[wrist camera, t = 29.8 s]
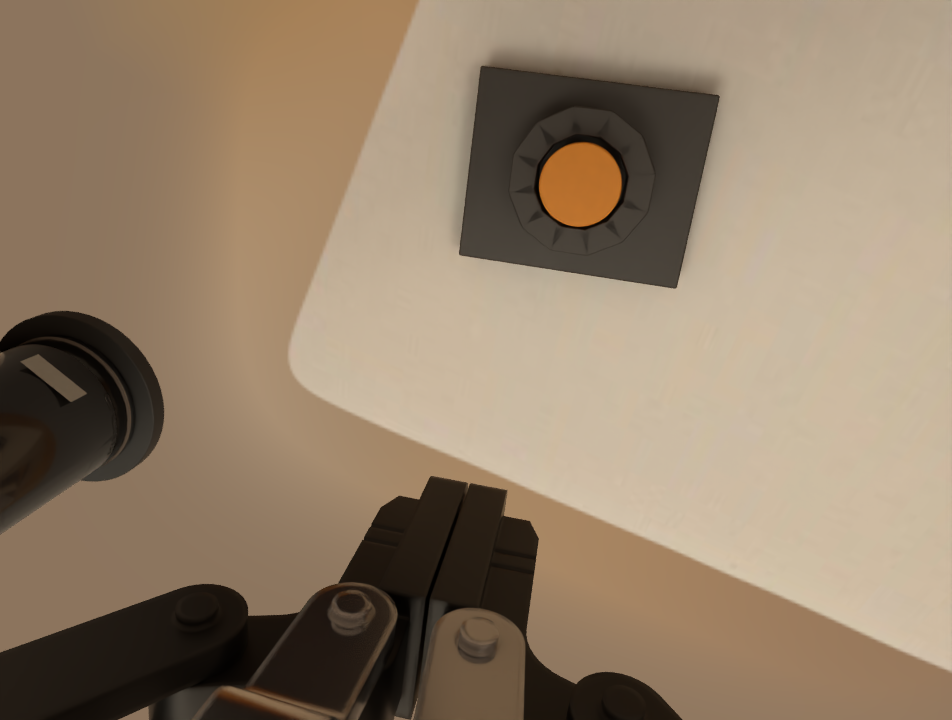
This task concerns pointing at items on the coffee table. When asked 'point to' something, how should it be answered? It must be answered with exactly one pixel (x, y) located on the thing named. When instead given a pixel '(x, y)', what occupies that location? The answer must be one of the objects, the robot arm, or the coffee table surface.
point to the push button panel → (608, 125)
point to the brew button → (580, 184)
